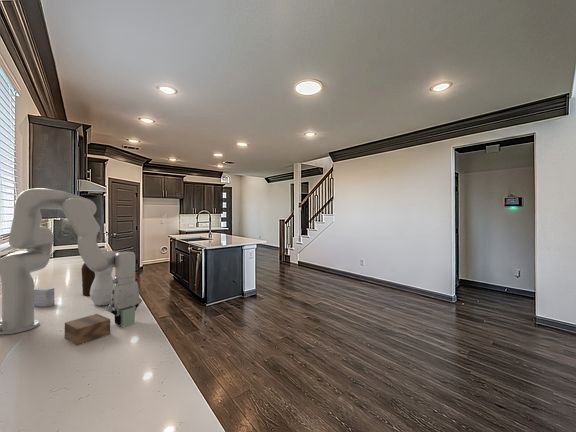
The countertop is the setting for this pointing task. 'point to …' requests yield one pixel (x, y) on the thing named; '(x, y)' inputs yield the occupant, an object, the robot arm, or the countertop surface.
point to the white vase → (102, 286)
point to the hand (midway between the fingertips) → (124, 321)
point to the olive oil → (87, 279)
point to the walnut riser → (87, 329)
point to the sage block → (127, 316)
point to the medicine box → (44, 297)
